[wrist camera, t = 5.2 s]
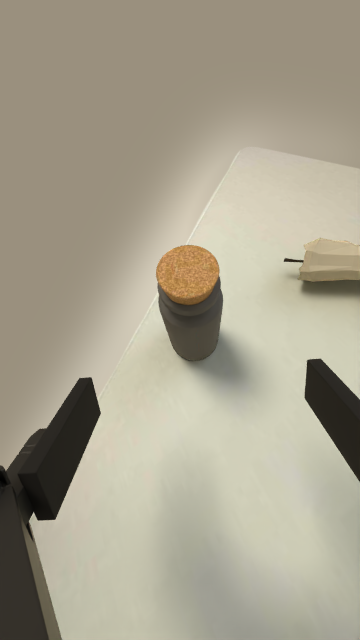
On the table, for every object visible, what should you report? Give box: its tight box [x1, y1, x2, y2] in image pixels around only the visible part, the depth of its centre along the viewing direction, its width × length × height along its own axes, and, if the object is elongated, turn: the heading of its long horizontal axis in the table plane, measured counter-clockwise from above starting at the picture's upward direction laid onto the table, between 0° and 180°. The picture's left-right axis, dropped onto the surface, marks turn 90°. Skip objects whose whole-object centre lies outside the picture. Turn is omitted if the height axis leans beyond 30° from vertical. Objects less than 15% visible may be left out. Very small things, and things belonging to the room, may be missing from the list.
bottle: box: [156, 245, 223, 360], centre depth 27 cm, size 6×6×15 cm
